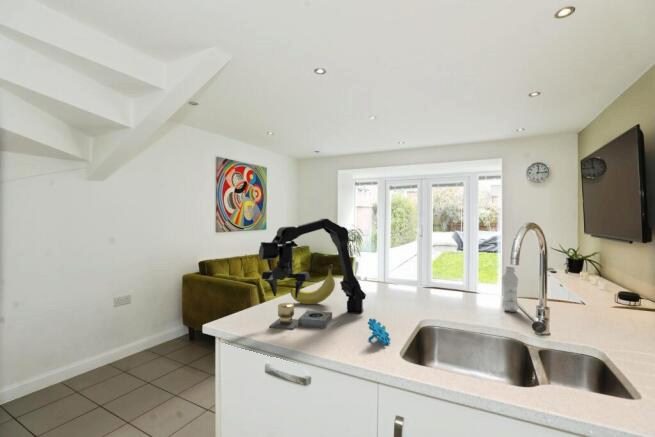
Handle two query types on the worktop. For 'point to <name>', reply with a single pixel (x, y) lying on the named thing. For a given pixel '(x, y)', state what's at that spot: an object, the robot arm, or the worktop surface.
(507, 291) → the plastic bottle
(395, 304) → the worktop surface
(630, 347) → the worktop surface
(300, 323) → the housing
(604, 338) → the worktop surface
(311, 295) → the banana
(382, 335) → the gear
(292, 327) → the mat
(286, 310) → the end cover
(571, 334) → the worktop surface
